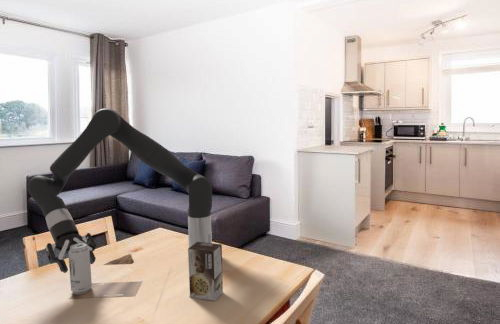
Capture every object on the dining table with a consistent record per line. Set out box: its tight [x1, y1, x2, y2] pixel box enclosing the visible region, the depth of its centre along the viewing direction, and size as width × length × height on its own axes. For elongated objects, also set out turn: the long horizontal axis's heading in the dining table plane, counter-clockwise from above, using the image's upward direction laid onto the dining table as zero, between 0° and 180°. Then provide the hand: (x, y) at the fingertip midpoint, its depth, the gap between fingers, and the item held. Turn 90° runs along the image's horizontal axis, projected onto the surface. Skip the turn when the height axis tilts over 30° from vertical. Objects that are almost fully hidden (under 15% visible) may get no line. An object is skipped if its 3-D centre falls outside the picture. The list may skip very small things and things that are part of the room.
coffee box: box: [187, 242, 224, 302], centre depth 109 cm, size 9×6×16 cm
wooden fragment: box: [103, 253, 134, 266], centre depth 131 cm, size 26×11×1 cm, turn 167°
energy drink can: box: [68, 242, 93, 294], centre depth 110 cm, size 6×6×15 cm
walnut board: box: [68, 280, 143, 300], centre depth 111 cm, size 20×10×1 cm, turn 94°
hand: (80, 267), depth 110 cm, fingers open, 8 cm apart
